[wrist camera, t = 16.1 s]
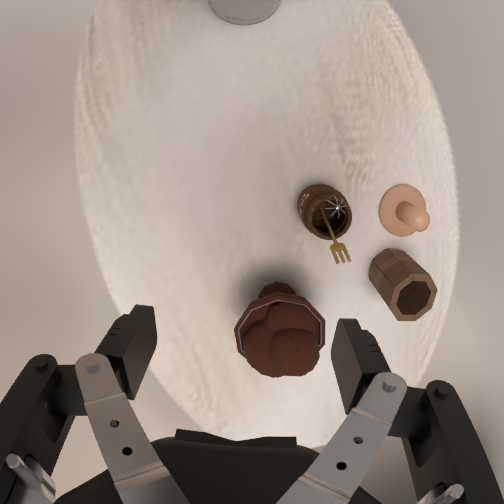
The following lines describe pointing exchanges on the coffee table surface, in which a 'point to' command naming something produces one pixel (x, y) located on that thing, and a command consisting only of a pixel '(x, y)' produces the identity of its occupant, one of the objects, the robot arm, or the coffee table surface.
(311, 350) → the ice cream bowl
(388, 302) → the canister
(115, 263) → the coffee table surface
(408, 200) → the lid
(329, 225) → the utensil holder
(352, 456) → the robot arm
